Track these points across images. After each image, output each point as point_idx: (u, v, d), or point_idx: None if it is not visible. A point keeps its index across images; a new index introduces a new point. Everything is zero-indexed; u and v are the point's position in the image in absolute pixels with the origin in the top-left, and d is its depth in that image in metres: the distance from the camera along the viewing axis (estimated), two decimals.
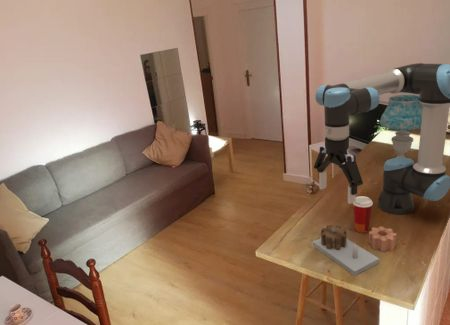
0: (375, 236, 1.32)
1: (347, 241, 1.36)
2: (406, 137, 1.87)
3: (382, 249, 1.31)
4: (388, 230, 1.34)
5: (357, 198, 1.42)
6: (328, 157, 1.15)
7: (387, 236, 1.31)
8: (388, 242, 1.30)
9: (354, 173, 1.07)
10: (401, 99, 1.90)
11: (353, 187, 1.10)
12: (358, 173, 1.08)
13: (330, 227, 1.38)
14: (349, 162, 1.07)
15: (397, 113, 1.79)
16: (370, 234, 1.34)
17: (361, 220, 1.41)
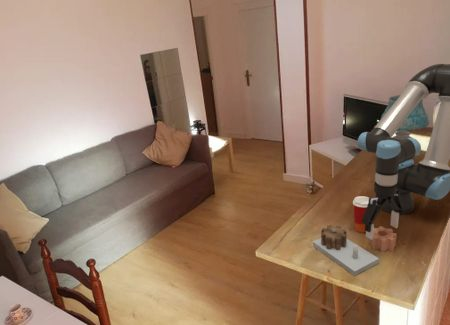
0: (375, 236, 1.32)
1: (347, 241, 1.36)
2: (406, 137, 1.87)
3: (382, 249, 1.31)
4: (388, 230, 1.34)
5: (357, 198, 1.42)
6: None
7: (387, 236, 1.31)
8: (388, 242, 1.30)
9: (365, 212, 1.26)
10: None
11: None
12: (368, 215, 1.25)
13: (330, 227, 1.38)
14: None
15: None
16: None
17: (361, 220, 1.41)
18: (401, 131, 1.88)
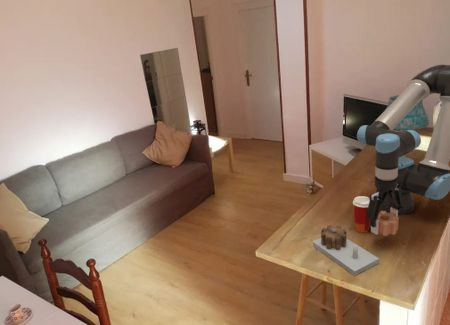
0: None
1: (347, 241, 1.36)
2: None
3: (384, 233, 1.28)
4: (390, 214, 1.32)
5: (357, 198, 1.42)
6: None
7: (389, 220, 1.29)
8: (390, 226, 1.28)
9: (368, 208, 1.26)
10: None
11: None
12: (371, 211, 1.25)
13: (330, 227, 1.38)
14: None
15: None
16: None
17: (361, 220, 1.41)
18: (401, 131, 1.88)
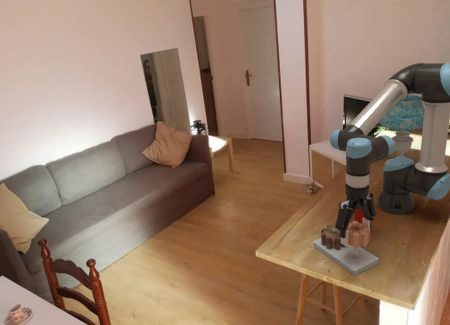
0: None
1: None
2: (406, 137, 1.87)
3: (354, 245, 1.19)
4: (362, 225, 1.23)
5: None
6: None
7: (360, 231, 1.20)
8: (361, 238, 1.19)
9: (338, 217, 1.17)
10: None
11: None
12: (341, 220, 1.16)
13: (330, 227, 1.38)
14: None
15: (397, 113, 1.79)
16: None
17: (361, 220, 1.41)
18: (401, 131, 1.88)
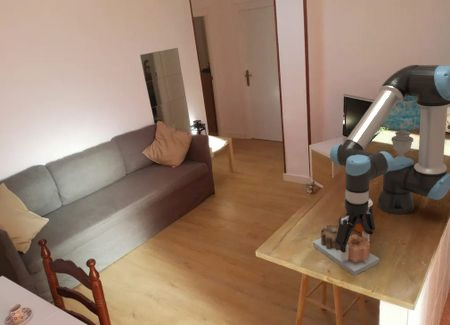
0: None
1: None
2: (406, 137, 1.87)
3: (354, 259, 1.22)
4: (362, 239, 1.26)
5: None
6: None
7: (360, 245, 1.22)
8: (361, 252, 1.21)
9: (338, 232, 1.20)
10: None
11: None
12: (341, 235, 1.19)
13: (330, 227, 1.38)
14: None
15: (397, 113, 1.79)
16: None
17: None
18: (401, 131, 1.88)
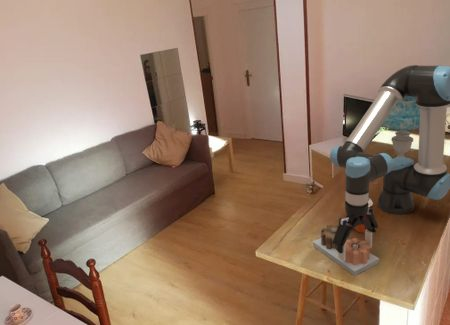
0: (347, 249, 1.24)
1: None
2: (406, 137, 1.87)
3: (354, 263, 1.23)
4: (361, 242, 1.26)
5: None
6: None
7: (360, 249, 1.23)
8: (361, 255, 1.22)
9: (336, 233, 1.19)
10: None
11: None
12: (339, 236, 1.18)
13: (330, 227, 1.38)
14: None
15: (397, 113, 1.79)
16: None
17: None
18: (401, 131, 1.88)
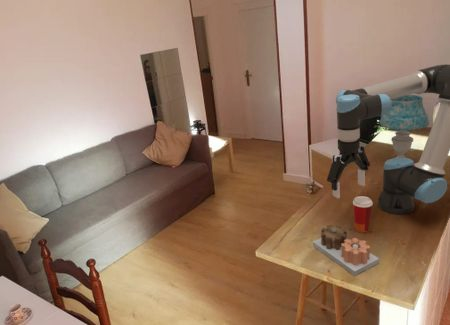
0: (347, 249, 1.24)
1: None
2: (406, 137, 1.87)
3: (354, 263, 1.23)
4: (361, 242, 1.26)
5: (357, 198, 1.42)
6: None
7: (360, 249, 1.23)
8: (361, 255, 1.22)
9: (330, 170, 1.24)
10: (401, 99, 1.90)
11: None
12: (333, 172, 1.23)
13: (330, 227, 1.38)
14: None
15: (397, 113, 1.79)
16: (342, 246, 1.26)
17: (361, 220, 1.41)
18: (401, 131, 1.88)
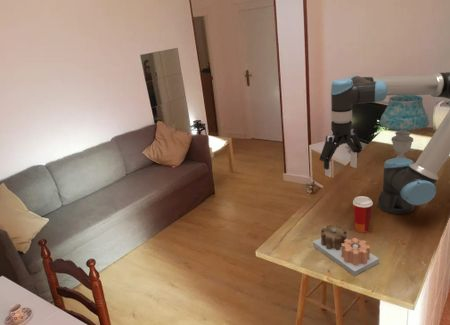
0: (347, 249, 1.24)
1: None
2: (406, 137, 1.87)
3: (354, 263, 1.23)
4: (361, 242, 1.26)
5: (357, 198, 1.42)
6: None
7: (360, 249, 1.23)
8: (361, 255, 1.22)
9: (323, 150, 1.32)
10: (401, 99, 1.90)
11: None
12: (325, 152, 1.31)
13: (330, 227, 1.38)
14: None
15: (397, 113, 1.79)
16: (342, 246, 1.26)
17: (361, 220, 1.41)
18: (401, 131, 1.88)
